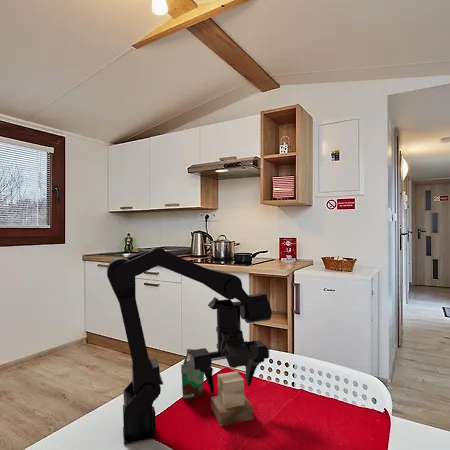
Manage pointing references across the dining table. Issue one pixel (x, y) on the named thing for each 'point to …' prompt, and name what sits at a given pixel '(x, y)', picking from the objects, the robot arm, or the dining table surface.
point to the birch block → (230, 389)
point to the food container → (191, 379)
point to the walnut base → (231, 412)
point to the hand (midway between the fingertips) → (230, 389)
